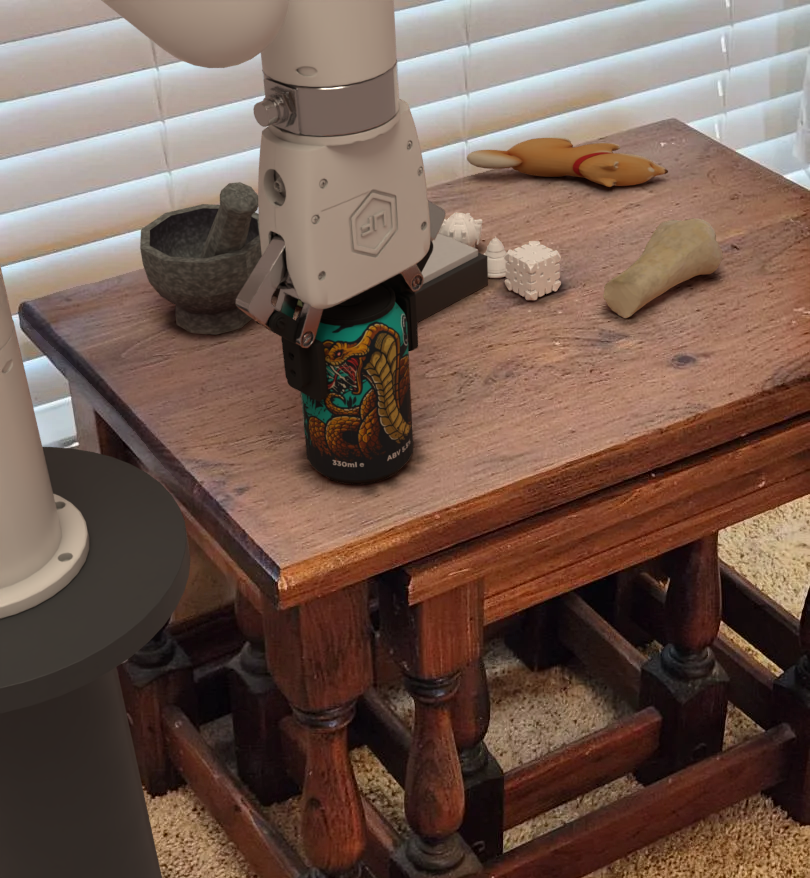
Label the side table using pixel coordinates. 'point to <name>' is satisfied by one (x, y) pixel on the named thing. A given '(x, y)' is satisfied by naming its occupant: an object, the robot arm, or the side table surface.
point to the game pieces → (510, 258)
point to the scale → (447, 276)
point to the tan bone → (665, 264)
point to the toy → (570, 161)
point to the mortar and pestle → (205, 259)
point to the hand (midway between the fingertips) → (353, 365)
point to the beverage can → (362, 391)
